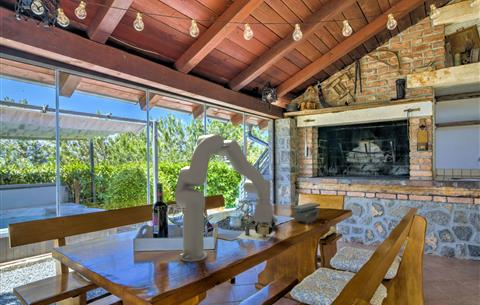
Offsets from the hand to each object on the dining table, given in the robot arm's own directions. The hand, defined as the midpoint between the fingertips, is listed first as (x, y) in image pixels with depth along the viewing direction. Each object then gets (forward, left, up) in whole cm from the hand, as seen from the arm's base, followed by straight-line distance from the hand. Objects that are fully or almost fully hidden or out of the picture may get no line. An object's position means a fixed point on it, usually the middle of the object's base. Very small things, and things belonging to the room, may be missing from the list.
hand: (263, 232), depth 162 cm
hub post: (0, +10, -2) cm, 10 cm away
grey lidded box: (+53, -17, -4) cm, 56 cm away
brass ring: (0, 0, 0) cm, 0 cm away
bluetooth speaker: (+24, +5, -4) cm, 25 cm away
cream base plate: (+2, +5, -4) cm, 6 cm away
